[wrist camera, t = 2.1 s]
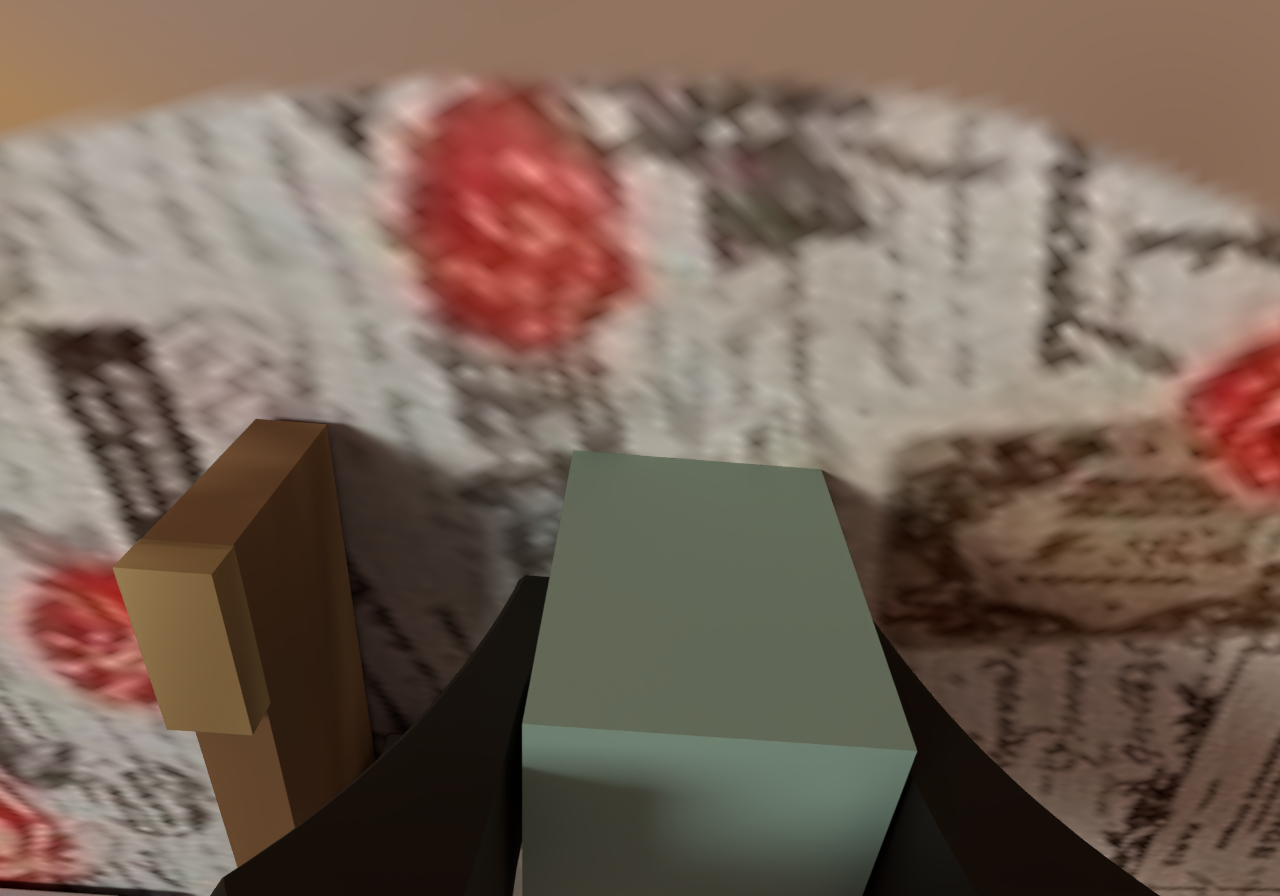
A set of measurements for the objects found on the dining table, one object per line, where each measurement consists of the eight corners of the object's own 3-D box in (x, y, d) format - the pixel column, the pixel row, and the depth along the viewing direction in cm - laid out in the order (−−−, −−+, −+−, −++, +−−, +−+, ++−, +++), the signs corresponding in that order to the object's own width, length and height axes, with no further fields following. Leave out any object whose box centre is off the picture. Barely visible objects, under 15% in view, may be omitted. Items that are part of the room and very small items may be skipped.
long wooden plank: (354, 926, 21) (294, 1108, 18) (255, 418, 13) (112, 566, 10) (400, 929, 21) (350, 1111, 18) (327, 424, 13) (211, 574, 10)
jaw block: (565, 655, 16) (522, 964, 11) (573, 449, 14) (522, 723, 9) (775, 670, 16) (828, 982, 11) (820, 468, 14) (916, 750, 9)
